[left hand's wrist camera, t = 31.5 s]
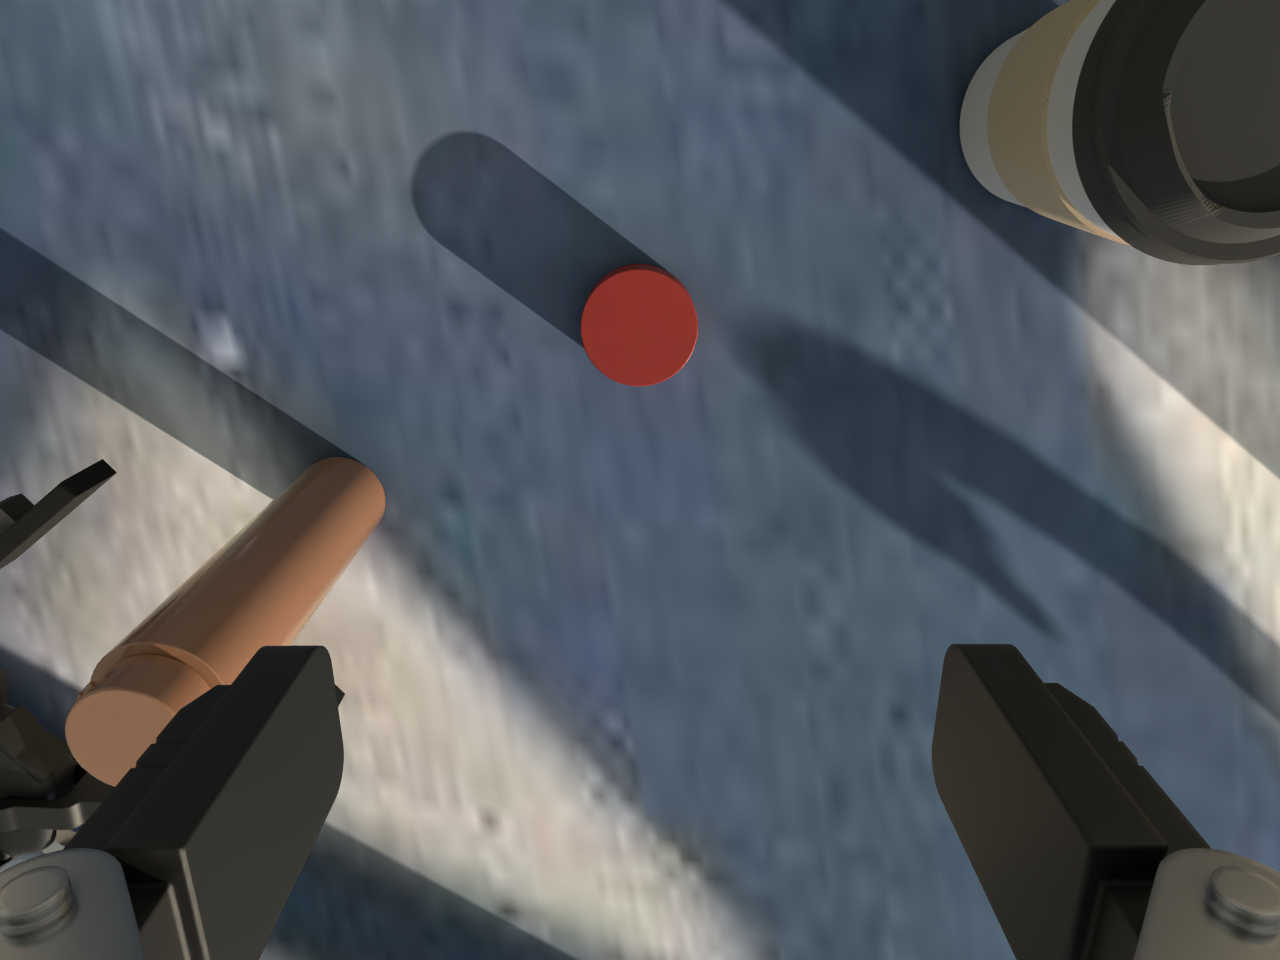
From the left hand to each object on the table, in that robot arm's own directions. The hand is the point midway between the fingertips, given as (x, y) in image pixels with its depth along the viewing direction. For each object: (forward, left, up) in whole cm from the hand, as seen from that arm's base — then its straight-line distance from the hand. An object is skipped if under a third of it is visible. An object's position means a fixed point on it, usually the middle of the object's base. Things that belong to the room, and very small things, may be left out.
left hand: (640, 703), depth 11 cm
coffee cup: (+19, -1, -29) cm, 35 cm away
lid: (0, 0, -28) cm, 28 cm away
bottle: (-17, 0, -29) cm, 34 cm away
